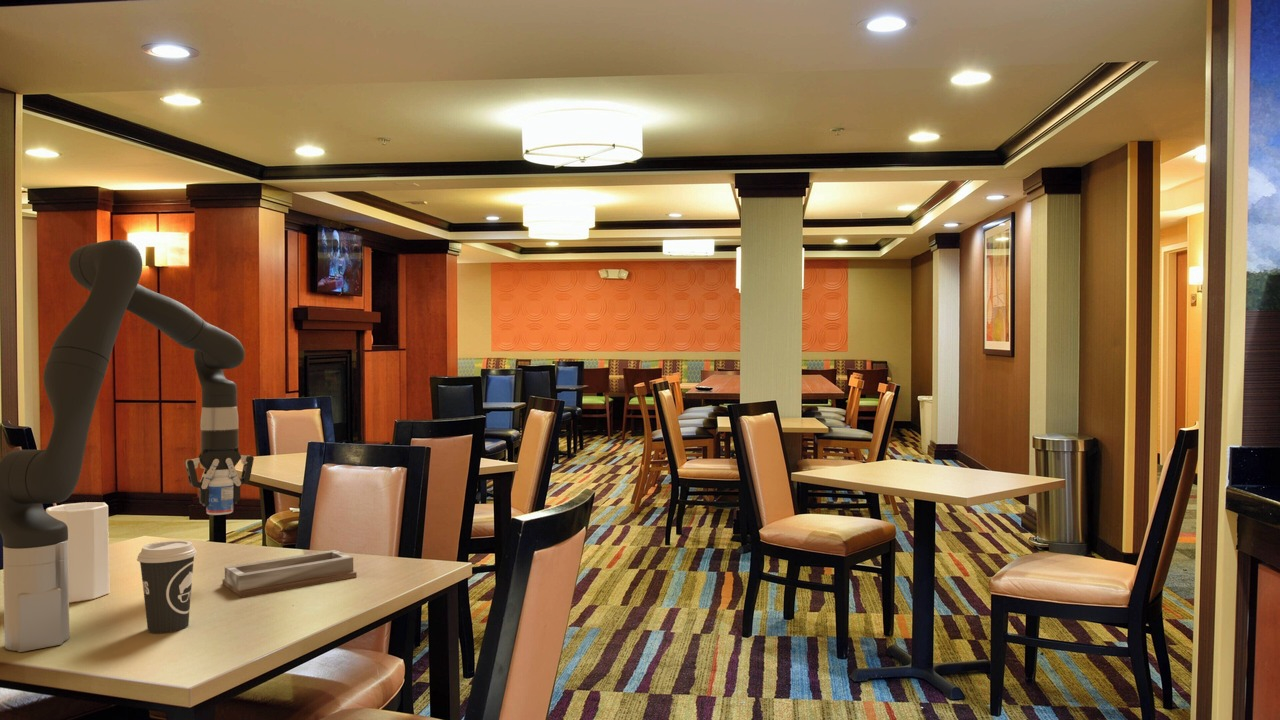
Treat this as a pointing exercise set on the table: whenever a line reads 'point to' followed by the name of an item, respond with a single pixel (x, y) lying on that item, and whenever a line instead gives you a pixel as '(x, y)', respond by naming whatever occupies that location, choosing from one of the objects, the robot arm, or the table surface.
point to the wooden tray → (288, 573)
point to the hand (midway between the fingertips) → (220, 504)
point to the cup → (86, 548)
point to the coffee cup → (167, 584)
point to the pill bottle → (220, 493)
